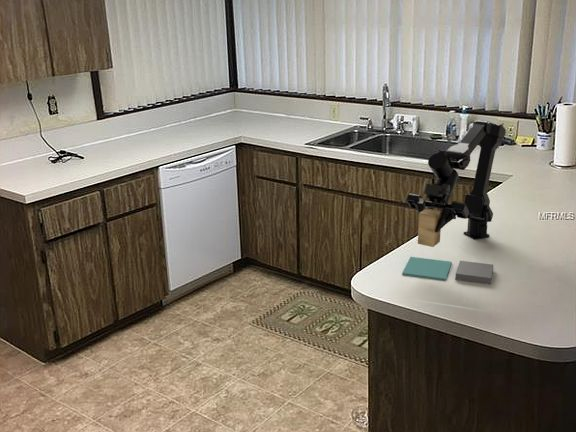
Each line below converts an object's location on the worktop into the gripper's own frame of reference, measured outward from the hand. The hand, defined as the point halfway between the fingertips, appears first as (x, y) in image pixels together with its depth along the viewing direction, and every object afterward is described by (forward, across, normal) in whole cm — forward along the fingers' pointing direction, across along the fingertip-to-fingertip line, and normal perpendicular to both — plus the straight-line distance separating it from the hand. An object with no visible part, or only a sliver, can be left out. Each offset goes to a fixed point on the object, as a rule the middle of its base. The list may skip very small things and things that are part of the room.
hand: (427, 230), depth 191 cm
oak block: (+2, 0, +4) cm, 5 cm away
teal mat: (+8, 0, +10) cm, 13 cm away
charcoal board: (+6, +14, +13) cm, 20 cm away
